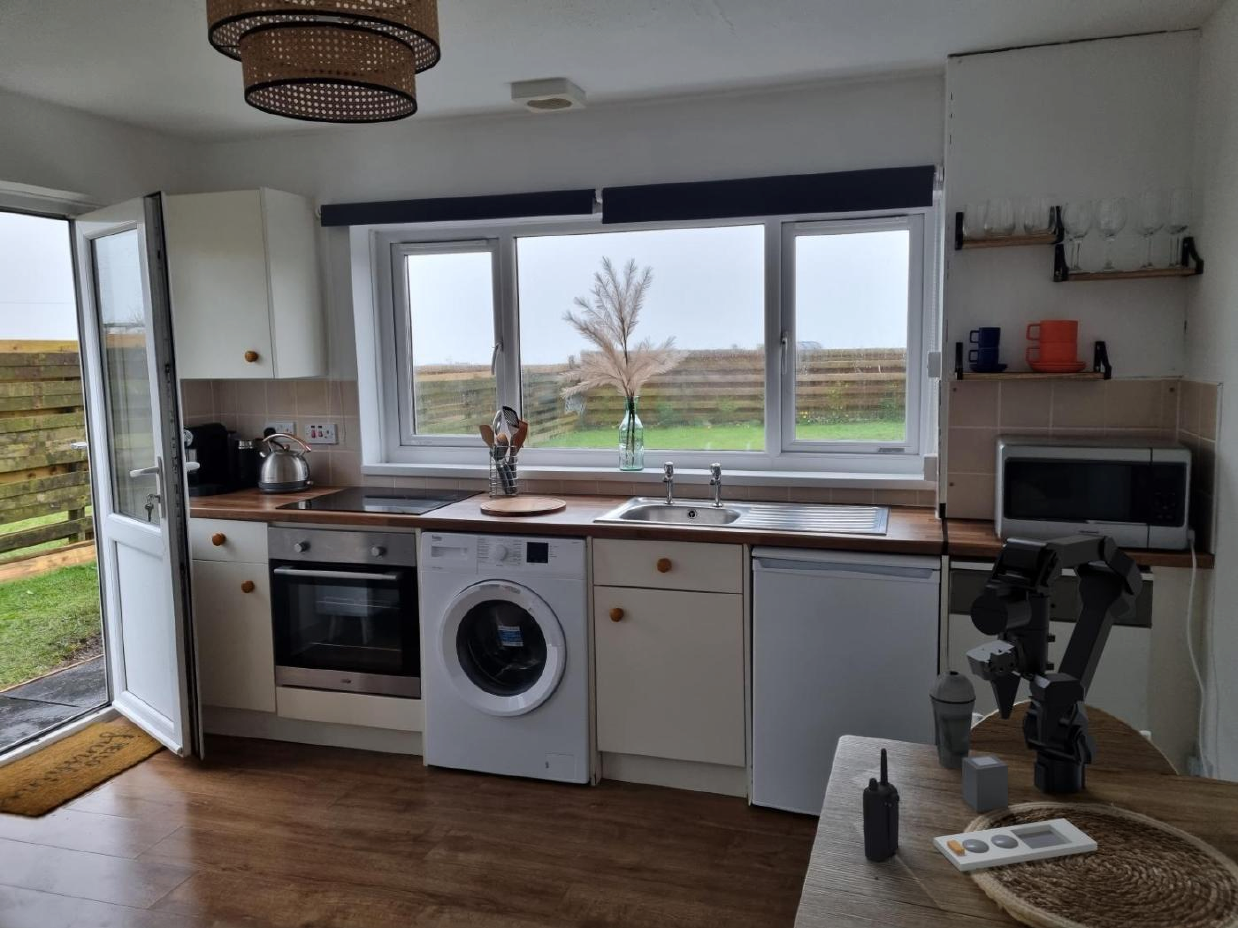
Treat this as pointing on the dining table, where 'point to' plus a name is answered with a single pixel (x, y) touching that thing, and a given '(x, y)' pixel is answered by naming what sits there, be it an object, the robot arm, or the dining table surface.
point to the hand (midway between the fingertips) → (1023, 729)
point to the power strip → (1014, 844)
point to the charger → (985, 782)
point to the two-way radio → (881, 815)
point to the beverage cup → (952, 715)
